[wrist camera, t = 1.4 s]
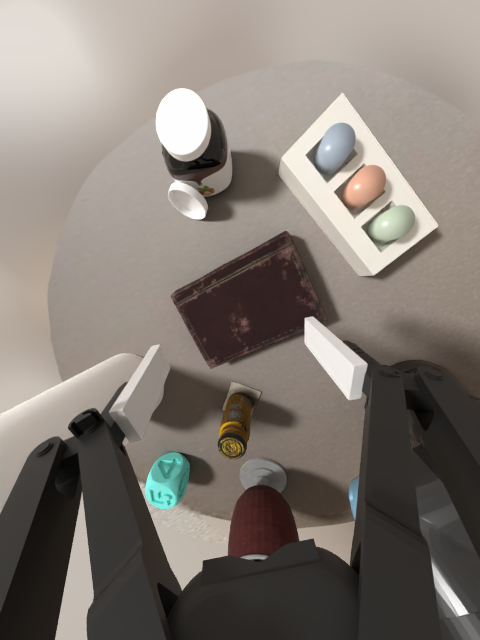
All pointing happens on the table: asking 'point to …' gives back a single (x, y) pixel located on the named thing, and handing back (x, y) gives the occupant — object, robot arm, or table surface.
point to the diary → (249, 302)
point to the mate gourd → (261, 512)
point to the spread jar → (193, 151)
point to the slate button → (334, 148)
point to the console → (326, 190)
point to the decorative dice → (168, 480)
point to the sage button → (391, 224)
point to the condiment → (237, 420)
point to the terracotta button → (364, 187)
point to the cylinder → (58, 413)
